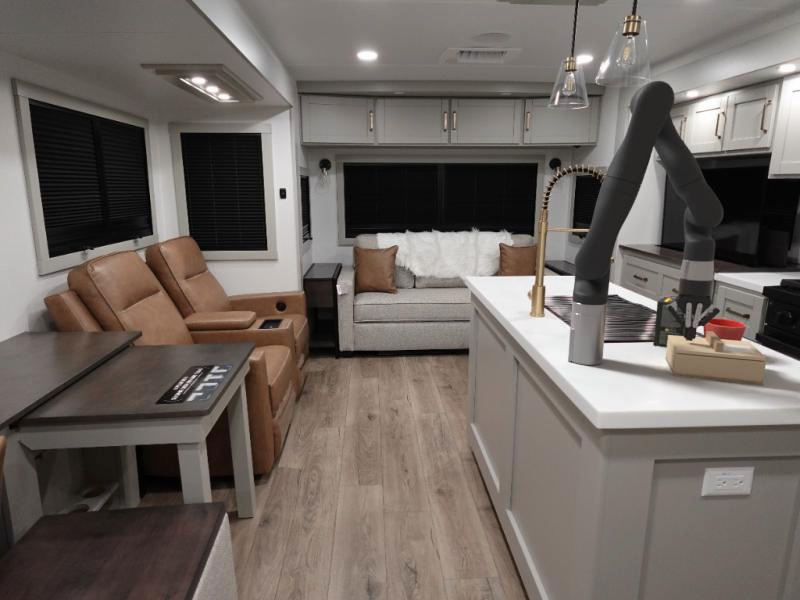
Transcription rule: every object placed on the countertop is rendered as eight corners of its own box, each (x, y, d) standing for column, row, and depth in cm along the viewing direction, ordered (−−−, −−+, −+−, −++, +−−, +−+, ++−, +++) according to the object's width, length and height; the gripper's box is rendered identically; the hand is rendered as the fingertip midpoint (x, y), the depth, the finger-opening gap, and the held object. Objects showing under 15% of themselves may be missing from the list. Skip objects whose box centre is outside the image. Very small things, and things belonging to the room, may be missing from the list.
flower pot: (733, 349, 157) (738, 319, 155) (747, 361, 147) (751, 328, 145) (695, 347, 160) (699, 316, 158) (705, 357, 149) (709, 325, 147)
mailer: (673, 375, 135) (676, 353, 134) (665, 358, 149) (667, 338, 148) (762, 384, 128) (766, 362, 127) (745, 366, 142) (748, 345, 141)
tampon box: (660, 338, 170) (665, 294, 167) (692, 343, 164) (697, 298, 161) (652, 345, 161) (656, 300, 158) (684, 351, 156) (690, 304, 153)
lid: (676, 352, 134) (677, 340, 133) (667, 337, 148) (669, 326, 147) (766, 361, 127) (768, 348, 126) (748, 344, 141) (750, 333, 140)
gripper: (670, 277, 134) (663, 341, 138) (728, 280, 130) (720, 346, 133) (666, 273, 141) (660, 334, 145) (721, 276, 137) (713, 338, 140)
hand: (688, 339), depth 139 cm, fingers closed
